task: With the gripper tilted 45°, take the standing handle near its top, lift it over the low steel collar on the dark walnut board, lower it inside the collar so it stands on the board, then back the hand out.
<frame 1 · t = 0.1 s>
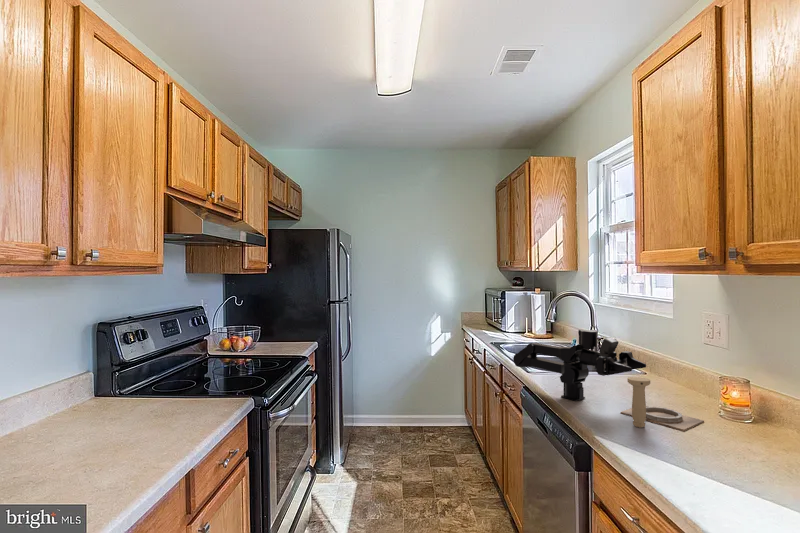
hand: (638, 367, 148), 17 cm above the countertop, tool horizontal, fingers open, 9 cm apart
handle: (639, 426, 139), on the countertop
socket board: (661, 417, 147), on the countertop
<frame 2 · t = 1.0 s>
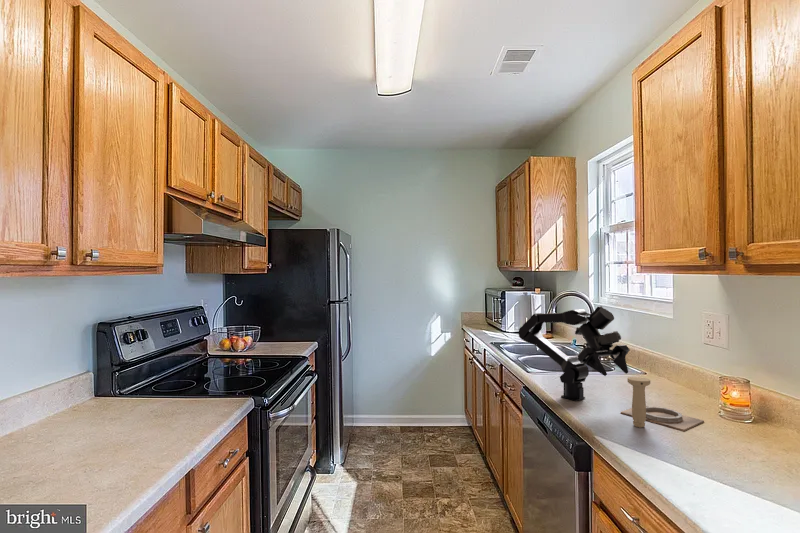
hand: (616, 374, 151), 14 cm above the countertop, tool tilted 45°, fingers open, 9 cm apart
nothing on the countertop moved.
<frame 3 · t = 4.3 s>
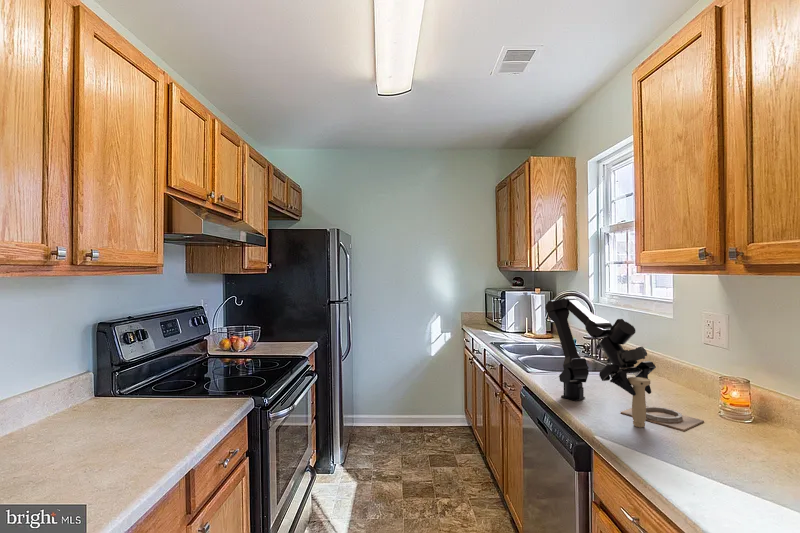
hand: (642, 394, 138), 11 cm above the countertop, tool tilted 45°, fingers closed on handle, 6 cm apart
handle: (639, 426, 139), on the countertop, touching gripper
when the fingers open (12 cm above the countertop, at t = 7.8 s): handle stays where it is, resting on socket board.
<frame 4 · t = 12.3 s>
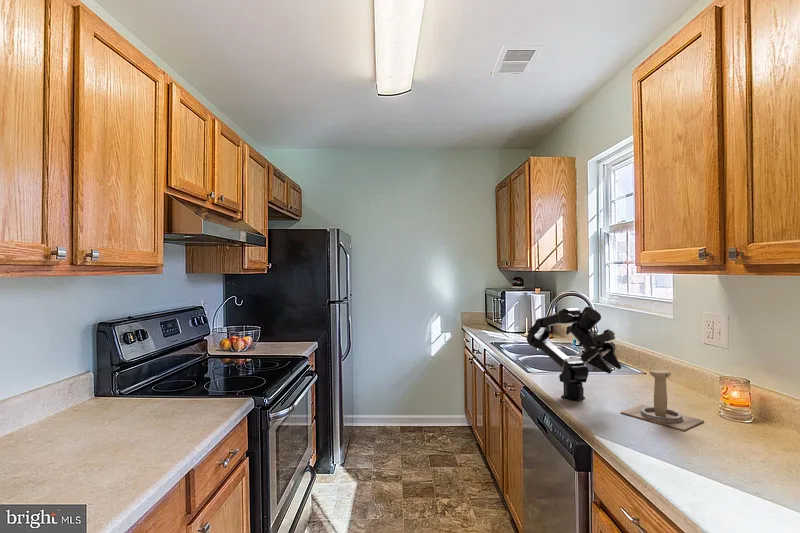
hand: (615, 370, 156), 14 cm above the countertop, tool tilted 45°, fingers open, 9 cm apart
handle: (660, 416, 147), resting on socket board
at the end: handle 0.2 cm off-centre on the socket board, point 0.3 cm above the socket board's base; handle tilted 0°; the gripper is holding nothing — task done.
